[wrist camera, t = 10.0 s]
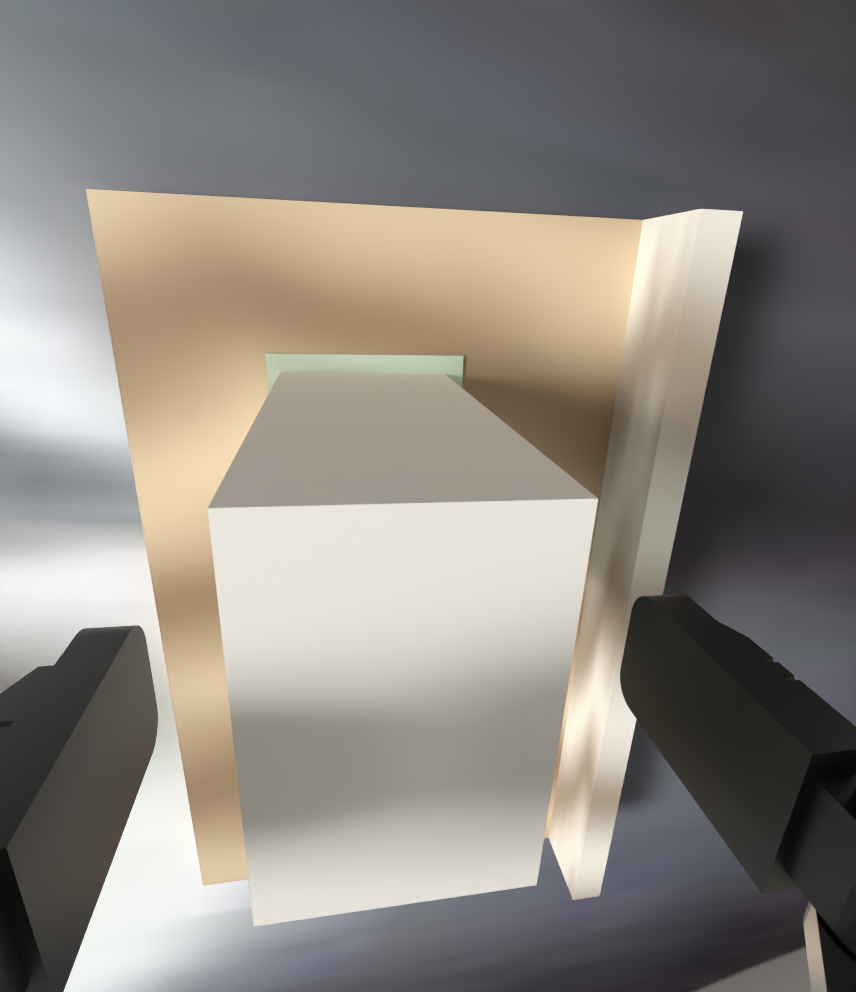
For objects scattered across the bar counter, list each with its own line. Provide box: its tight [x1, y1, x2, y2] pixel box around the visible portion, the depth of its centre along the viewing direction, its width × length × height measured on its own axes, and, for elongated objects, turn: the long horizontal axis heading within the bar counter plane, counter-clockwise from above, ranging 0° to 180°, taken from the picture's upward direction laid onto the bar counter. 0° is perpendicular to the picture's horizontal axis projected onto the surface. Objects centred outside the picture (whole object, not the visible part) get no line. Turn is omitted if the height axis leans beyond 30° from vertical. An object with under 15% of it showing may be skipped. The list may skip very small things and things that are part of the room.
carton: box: [207, 372, 598, 926], centre depth 11 cm, size 6×4×9 cm
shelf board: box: [86, 189, 743, 900], centre depth 16 cm, size 22×14×3 cm, turn 178°
